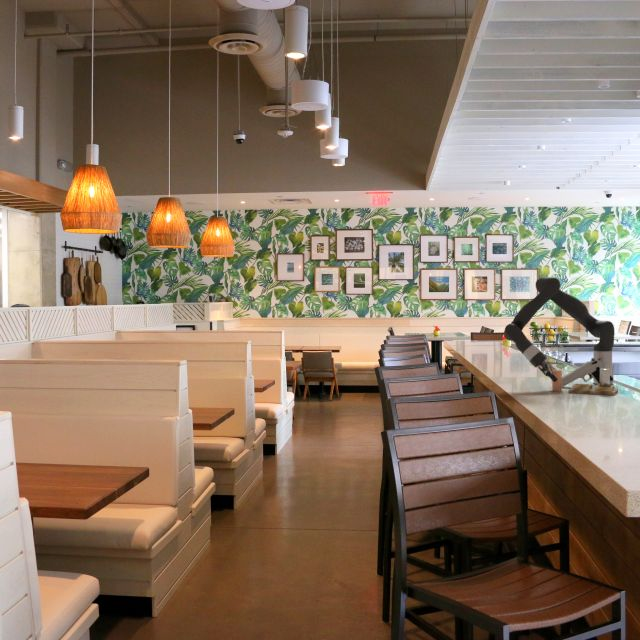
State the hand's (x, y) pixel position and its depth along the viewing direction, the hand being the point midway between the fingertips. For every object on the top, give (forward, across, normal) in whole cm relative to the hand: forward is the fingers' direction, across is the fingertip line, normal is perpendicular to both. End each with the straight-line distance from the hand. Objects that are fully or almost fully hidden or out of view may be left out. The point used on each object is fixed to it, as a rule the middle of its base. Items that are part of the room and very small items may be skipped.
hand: (558, 380), depth 358 cm
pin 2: (+18, 0, -12) cm, 22 cm away
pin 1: (+3, 0, +4) cm, 5 cm away
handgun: (+9, +21, -1) cm, 23 cm away
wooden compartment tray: (+15, 0, -8) cm, 17 cm away
